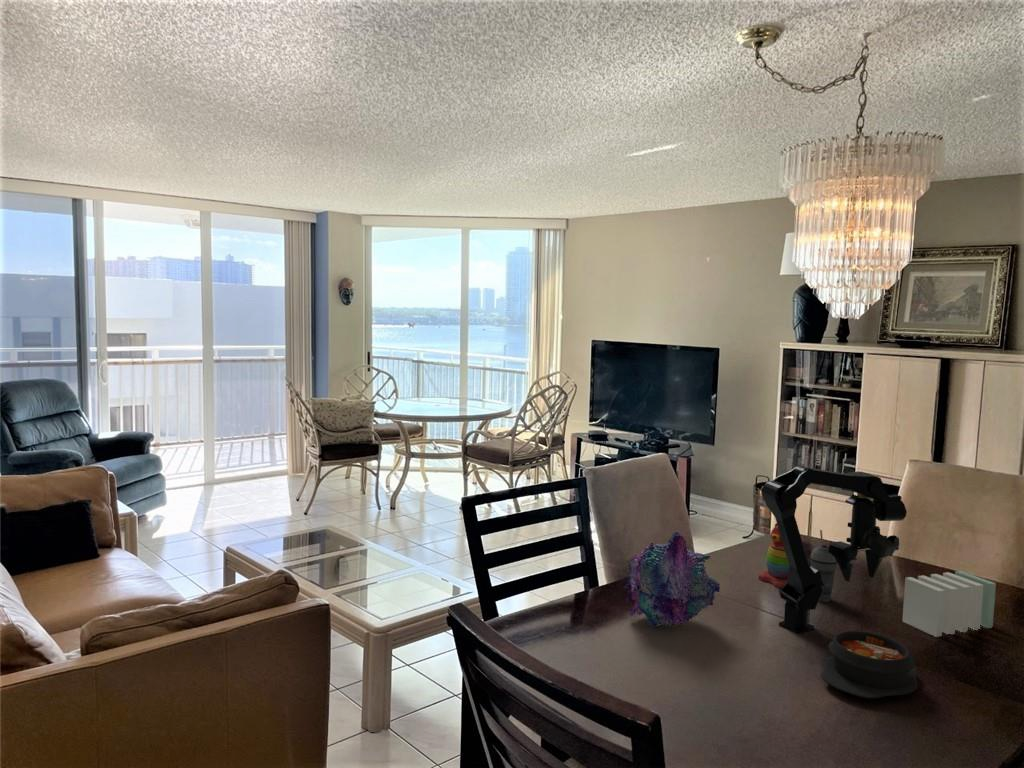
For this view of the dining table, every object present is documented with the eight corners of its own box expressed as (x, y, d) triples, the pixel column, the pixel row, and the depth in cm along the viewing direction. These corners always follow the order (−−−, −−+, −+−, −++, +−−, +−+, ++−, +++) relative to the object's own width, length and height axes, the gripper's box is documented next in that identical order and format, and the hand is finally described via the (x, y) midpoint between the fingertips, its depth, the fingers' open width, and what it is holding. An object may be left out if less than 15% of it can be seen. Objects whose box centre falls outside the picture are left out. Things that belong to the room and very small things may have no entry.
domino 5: (987, 628, 185) (990, 584, 184) (952, 613, 194) (955, 571, 193) (992, 627, 186) (995, 583, 185) (957, 613, 195) (960, 570, 194)
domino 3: (961, 632, 182) (965, 587, 181) (927, 617, 191) (930, 574, 190) (967, 631, 183) (970, 586, 182) (933, 616, 192) (936, 573, 191)
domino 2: (948, 634, 180) (952, 589, 180) (915, 619, 190) (918, 576, 189) (954, 633, 181) (957, 588, 180) (920, 618, 191) (923, 575, 190)
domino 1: (935, 637, 179) (938, 591, 178) (902, 621, 188) (905, 577, 187) (941, 636, 180) (944, 590, 179) (908, 620, 189) (910, 577, 188)
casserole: (854, 651, 170) (856, 617, 170) (938, 682, 156) (941, 645, 155) (798, 681, 155) (800, 644, 154) (886, 718, 140) (888, 678, 140)
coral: (609, 628, 180) (612, 532, 178) (635, 600, 199) (638, 513, 197) (708, 650, 169) (713, 548, 167) (726, 618, 188) (730, 526, 186)
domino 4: (974, 630, 183) (977, 585, 182) (940, 615, 193) (943, 572, 192) (980, 629, 184) (983, 585, 183) (945, 614, 193) (948, 572, 193)
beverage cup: (832, 605, 198) (836, 536, 197) (804, 599, 203) (808, 531, 201) (838, 598, 204) (842, 530, 203) (811, 592, 208) (815, 525, 207)
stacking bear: (755, 578, 220) (757, 522, 218) (779, 573, 224) (782, 518, 223) (781, 589, 210) (784, 531, 208) (806, 585, 214) (809, 527, 213)
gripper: (866, 532, 173) (861, 594, 174) (916, 526, 181) (911, 585, 182) (828, 520, 183) (824, 579, 184) (877, 515, 191) (873, 571, 192)
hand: (859, 579), depth 186 cm, fingers open, 9 cm apart
